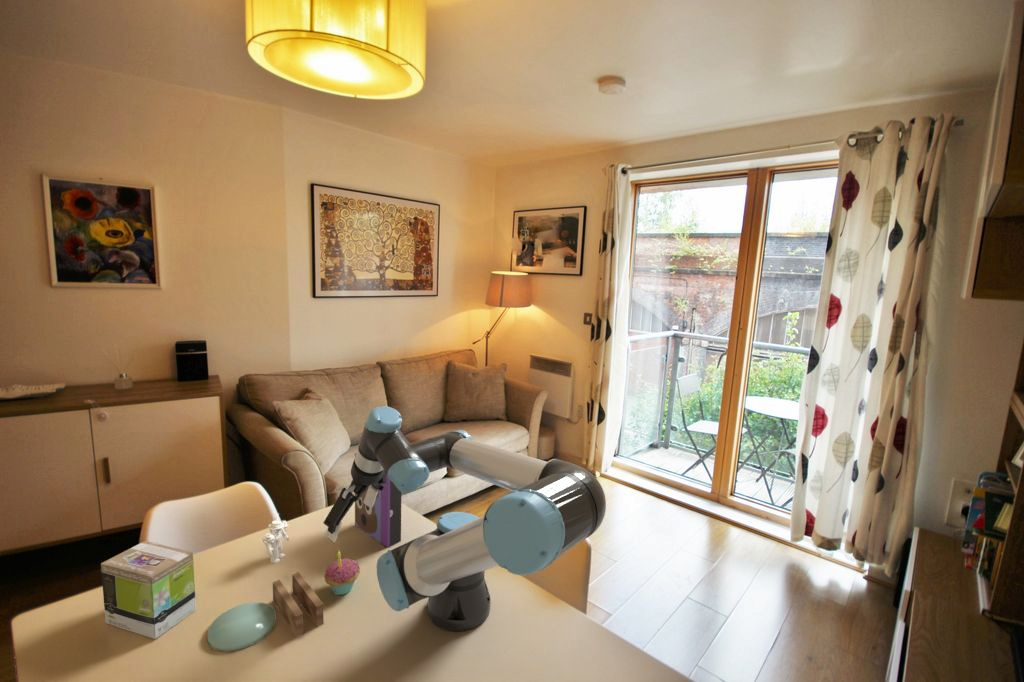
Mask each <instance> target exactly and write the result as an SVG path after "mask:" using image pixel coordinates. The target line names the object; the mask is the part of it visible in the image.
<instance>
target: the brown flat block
mask: <svg viewBox="0 0 1024 682" xmlns="http://www.w3.org/2000/svg"><path fill="white" fill-rule="evenodd" d="M291 580H292V581H291V582H292V586H291V587H292V588H291V589H292V594H293V595H294V596H295V598H296V600H297V601H298V602H299V604H300V605H301V606H302V608H303V609H304V611H305V612H306V614H307V615H308V617H309V618H310V619H311V621H312V622H313V623H314V625H315V626H316V627H317V628H318V627H319V626H322V625H323V624H324V602H323V601H322V600H321V598H319V596H318V595H317V594H316V592H315V591H314V590H313V588H312V587H311V586H310V584H309V583H308V582H307V581H306V580H305V578H304V576H303V575H301V573H300V572H299V571H297V572H295V573H292V574H291Z"/></svg>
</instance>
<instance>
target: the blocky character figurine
mask: <svg viewBox="0 0 1024 682" xmlns="http://www.w3.org/2000/svg"><path fill="white" fill-rule="evenodd" d="M279 515H280V513H279V512H278V513H277V516H276V517H274V520H272V522H271V523H270V524H268V529H269V532H267V533H266V534H264V536H263V537H262V542H263V544H264V545H265V549H266V554H267V556H271V557H270V563H271V564H278V563H279V564H280V562H281V559H283V558H285V556H286V554H285V553H283V549H284V548H283V543H282V538H283V539H284V541H287V542H289V540H290V536H288V534H287V533H286V532H285V531H288V530H289V528H290V525H289V524H288V522H287V520H281V521H280V520H279Z"/></svg>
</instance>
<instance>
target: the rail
mask: <svg viewBox="0 0 1024 682" xmlns="http://www.w3.org/2000/svg"><path fill="white" fill-rule="evenodd" d="M272 602H273V603H274V605H275V606H276V608H277V610H278V611H279V613H280V614H281V615H282V618H283V619H284V621H285V622H286V624H287V625H288V627H289V628H290V629H291V632H292V633H293V634H294V636H295V638H297V637H300V636H301V635H304V613H303V611H302V610H301V609H300V607H299V606H298V604H297V603H296V601H295V599H294V598H293V597H292V596H291V594H290V593H289V591H288V589H286V587H285V585H284V584H283V583H282V581H281V580H280V579H277V580H274V581H272Z"/></svg>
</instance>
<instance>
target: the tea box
mask: <svg viewBox="0 0 1024 682" xmlns="http://www.w3.org/2000/svg"><path fill="white" fill-rule="evenodd" d="M194 568H195V567H194V553H193V552H192V551H189V550H187V549H181V548H177V547H173V546H169V545H165V544H160V543H157V542H153V541H151V542H150V541H148V540H144V541H142V542H140V543H138V544H136V545H134V546H132V547H131V548H128V549H127V550H124V551H123V552H121V553H118V554H117V555H114V556H113V557H111V558H109V559H107V560H104V561H103V562H101V563H100V573H101V582H102V594H103V595H102V596H103V605H104V618H105V623H106V624H108V625H112V626H114V627H117V628H119V629H122V630H123V629H124V630H127V631H130V632H132V633H135V634H138V635H140V636H141V635H142V636H145V637H147V638H150V639H154V640H156V639H158V638H159V637H161V636H162V635H163V634H165V633H166V632H167V631H168V632H169V630H170V629H171V627H172V628H173V627H175V626H176V625H177V624H179V623H180V622H182V621H183V620H184V619H185V618H187V617H189V616H190V615H191V614H192V613H193V612H195V611H196V607H197V606H196V604H197V603H196V600H197V599H196V587H195V585H196V584H195V583H196V582H195V569H194Z"/></svg>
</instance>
